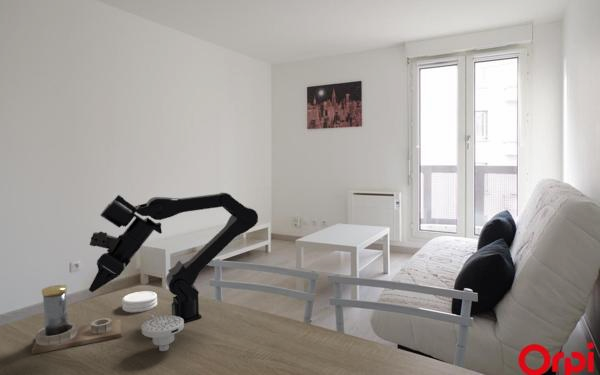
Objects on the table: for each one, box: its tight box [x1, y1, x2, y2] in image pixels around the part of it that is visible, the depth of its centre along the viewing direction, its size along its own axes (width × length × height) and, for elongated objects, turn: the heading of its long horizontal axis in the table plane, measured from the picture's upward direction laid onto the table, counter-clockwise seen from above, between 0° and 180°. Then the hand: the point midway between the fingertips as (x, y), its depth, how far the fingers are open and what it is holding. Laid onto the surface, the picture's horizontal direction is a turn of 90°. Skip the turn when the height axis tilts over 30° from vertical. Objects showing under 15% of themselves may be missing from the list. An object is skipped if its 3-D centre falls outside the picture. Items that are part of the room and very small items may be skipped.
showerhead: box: [141, 314, 185, 352], centre depth 93 cm, size 9×7×10 cm
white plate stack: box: [121, 290, 158, 314], centre depth 121 cm, size 10×10×4 cm
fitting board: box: [31, 317, 122, 355], centre depth 100 cm, size 19×10×3 cm, turn 116°
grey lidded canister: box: [41, 284, 69, 336], centre depth 98 cm, size 5×5×12 cm
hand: (94, 287), depth 101 cm, fingers open, 9 cm apart
